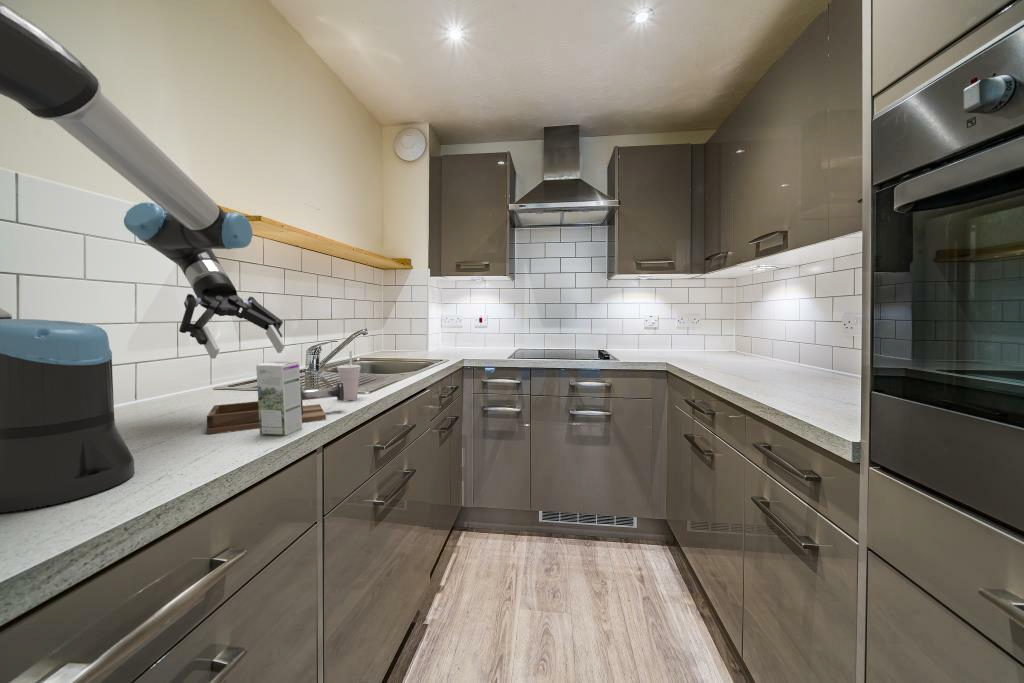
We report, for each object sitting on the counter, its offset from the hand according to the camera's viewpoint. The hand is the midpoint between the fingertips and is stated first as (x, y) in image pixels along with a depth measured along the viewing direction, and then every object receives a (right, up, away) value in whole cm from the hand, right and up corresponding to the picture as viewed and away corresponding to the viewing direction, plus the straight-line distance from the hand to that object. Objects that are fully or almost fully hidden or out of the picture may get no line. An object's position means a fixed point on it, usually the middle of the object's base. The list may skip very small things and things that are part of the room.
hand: (251, 351), depth 86 cm
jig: (+1, -16, +6) cm, 17 cm away
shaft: (+8, -13, +10) cm, 19 cm away
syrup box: (+9, -17, -4) cm, 20 cm away
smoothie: (+10, -15, +28) cm, 33 cm away
